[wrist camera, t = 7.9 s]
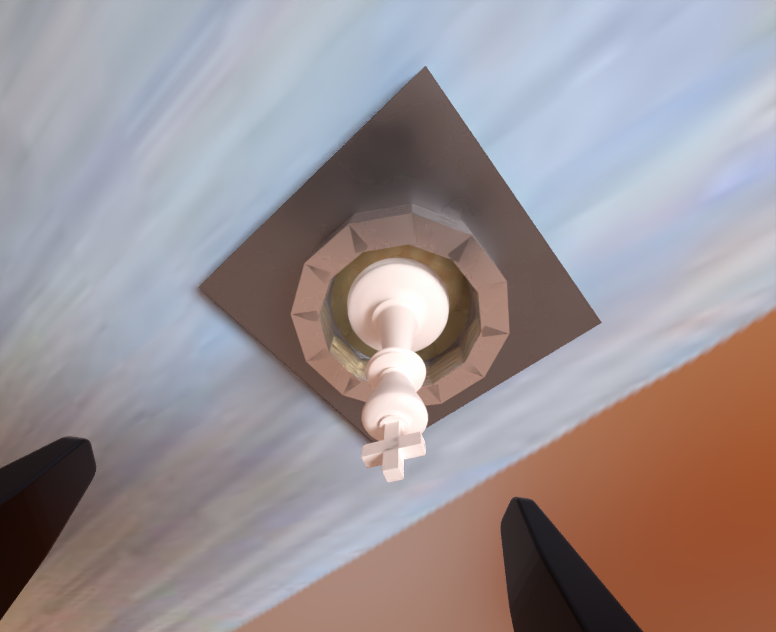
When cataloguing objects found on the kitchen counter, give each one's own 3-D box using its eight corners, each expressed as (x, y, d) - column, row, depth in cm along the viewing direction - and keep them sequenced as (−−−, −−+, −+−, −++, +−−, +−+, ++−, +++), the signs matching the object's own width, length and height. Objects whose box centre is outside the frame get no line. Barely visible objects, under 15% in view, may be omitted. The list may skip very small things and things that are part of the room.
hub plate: (385, 438, 24) (383, 480, 21) (209, 278, 20) (177, 304, 17) (591, 311, 20) (622, 343, 17) (424, 69, 15) (428, 57, 13)
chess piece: (331, 275, 18) (262, 427, 9) (432, 242, 17) (462, 375, 8) (368, 359, 20) (341, 548, 11) (460, 333, 19) (509, 517, 10)
